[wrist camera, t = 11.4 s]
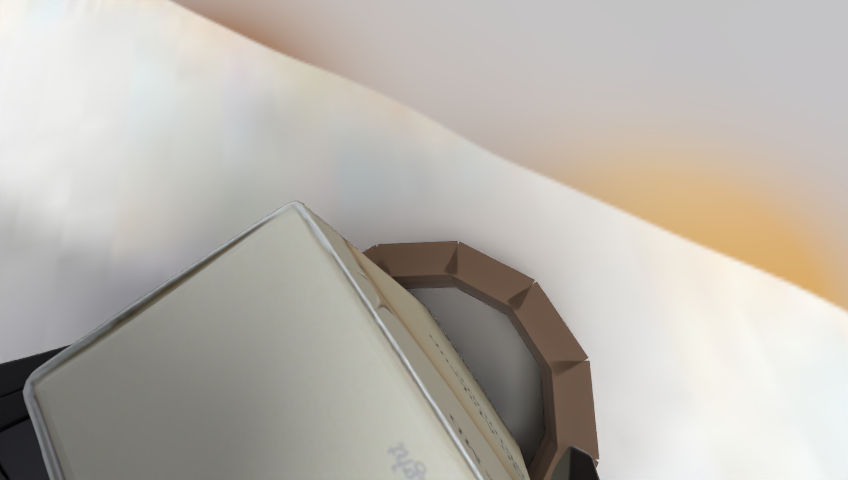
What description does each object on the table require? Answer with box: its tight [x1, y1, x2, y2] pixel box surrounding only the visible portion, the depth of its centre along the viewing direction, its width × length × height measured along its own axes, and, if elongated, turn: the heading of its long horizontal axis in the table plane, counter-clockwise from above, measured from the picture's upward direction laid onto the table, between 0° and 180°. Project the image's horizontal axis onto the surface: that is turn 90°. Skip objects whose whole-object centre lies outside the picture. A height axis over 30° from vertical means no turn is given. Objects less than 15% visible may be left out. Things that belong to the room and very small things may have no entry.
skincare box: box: [23, 201, 530, 480], centre depth 10 cm, size 6×4×12 cm
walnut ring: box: [362, 241, 599, 480], centre depth 16 cm, size 11×11×3 cm
